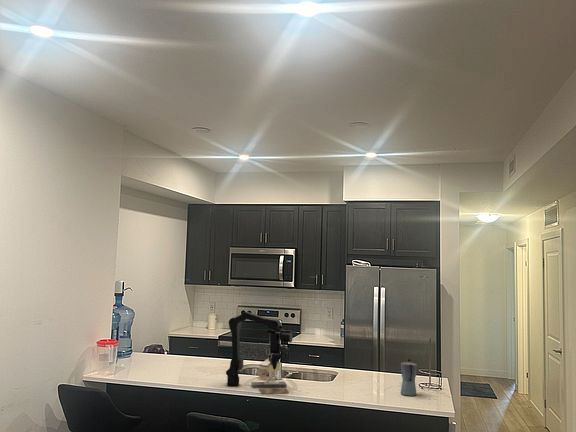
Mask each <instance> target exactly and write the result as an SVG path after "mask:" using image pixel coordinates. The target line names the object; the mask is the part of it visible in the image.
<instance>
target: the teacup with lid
mask: <svg viewBox="0 0 576 432" xmlns="http://www.w3.org/2000/svg"><path fill="white" fill-rule="evenodd" d="M268 363H270V361H269V359H265V360H264V361H262V362H260V363H259V374H258V375H259V376H258V377H259V379H260V380H264V381H267V378H269V380H273V378H274V376H276V375H277V373H278V371H275V373H274V371H269V370H268Z"/></svg>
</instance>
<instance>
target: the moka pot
mask: <svg viewBox="0 0 576 432" xmlns="http://www.w3.org/2000/svg"><path fill="white" fill-rule="evenodd" d="M417 368H418V364H417V363H414V362H411V359H410V358H409V359H408V358H407V361H405V362H404V361H403V362H401V363H400V370H401V371H400V372H401V377H402V382H401V387H400V388H401V389H400V395H403V396H411V397H414V396H417V388H416V376H417Z"/></svg>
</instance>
